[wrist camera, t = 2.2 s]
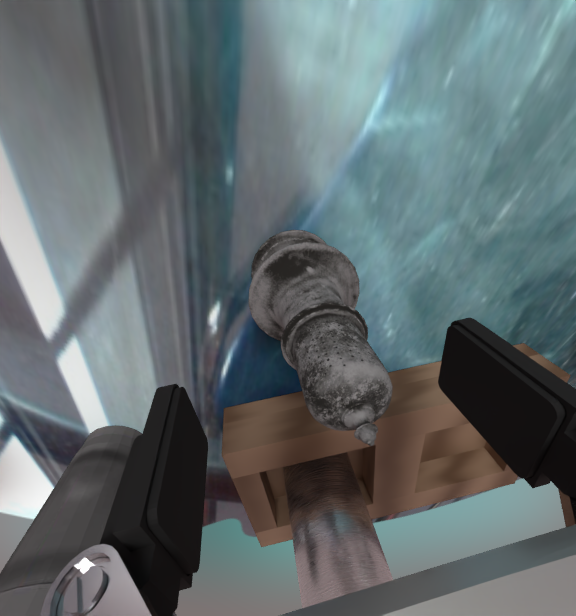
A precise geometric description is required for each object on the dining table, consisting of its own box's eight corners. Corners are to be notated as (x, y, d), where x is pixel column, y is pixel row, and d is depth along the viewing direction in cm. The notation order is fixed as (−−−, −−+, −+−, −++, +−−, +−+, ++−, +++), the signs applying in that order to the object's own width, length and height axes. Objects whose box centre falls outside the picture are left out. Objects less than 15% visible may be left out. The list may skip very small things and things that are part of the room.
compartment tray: (523, 343, 24) (570, 375, 21) (484, 447, 32) (514, 483, 29) (224, 408, 23) (221, 455, 19) (258, 501, 30) (261, 547, 27)
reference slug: (346, 433, 24) (426, 644, 14) (347, 471, 27) (414, 668, 17) (277, 448, 24) (308, 677, 14) (287, 486, 27) (318, 696, 17)
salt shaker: (309, 323, 20) (388, 513, 10) (231, 293, 18) (224, 494, 8) (356, 250, 18) (522, 395, 7) (272, 206, 16) (343, 322, 5)
